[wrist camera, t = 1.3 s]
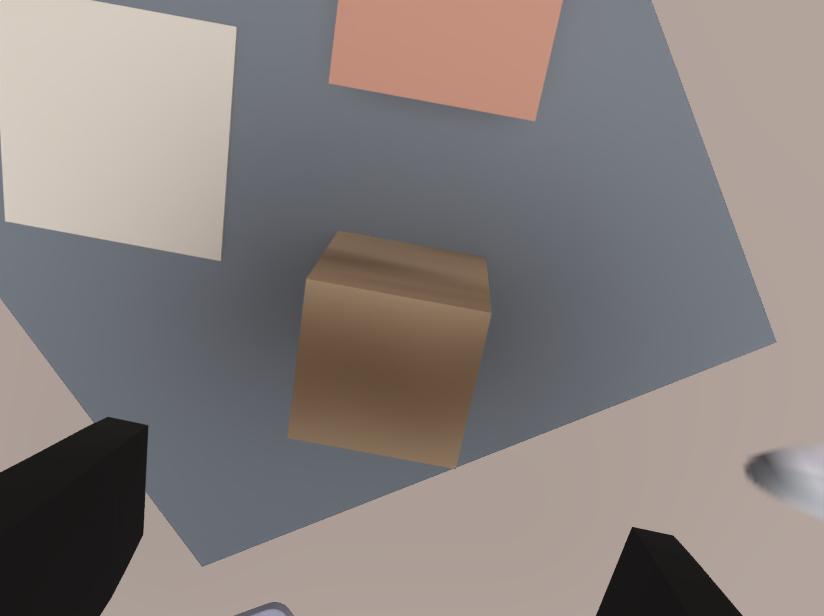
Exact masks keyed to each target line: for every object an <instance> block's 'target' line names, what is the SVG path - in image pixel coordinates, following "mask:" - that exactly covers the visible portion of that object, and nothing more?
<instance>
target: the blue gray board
mask: <svg viewBox="0 0 824 616" xmlns="http://www.w3.org/2000/svg"><path fill="white" fill-rule="evenodd" d="M337 7H338V0H0V298H1V300H2V301H3V302H4V304H5V305H6V306H7V308H8V309H9V310H10V311H11V313H12V314H13V316H14V317H15V318H16V320H17V321H18V322H19V324H20V325H21V326H22V327H23V329H24V330H25V332H26V333H27V334H28V336H29V337H30V338H31V339H32V341H33V342H34V344H35V345H36V346H37V347H38V349H39V350H40V351H41V353H42V354H43V355H44V357H45V358H46V359H47V361H48V362H49V363H50V365H51V366H52V367H53V369H54V370H55V372H56V373H57V374H58V375H59V377H60V378H61V379H62V381H63V382H64V383H65V385H66V386H67V387H68V389H69V390H70V391H71V393H72V394H73V395H74V397H75V398H76V399H77V401H78V402H79V403H80V405H81V406H82V407H83V409H84V410H85V411H86V413H87V414H88V415H89V417H90V418H91V419H92V421H93V422H94V423H96V422H98V421H100V420H102V419H104V418H106V417H112V418H117V419H122V420H126V421H131V422H136V423H141V424H145V425H149V427H148V447H147V468H146V488H145V491H146V493H147V494H148V495H149V496H150V498H151V499H152V501H153V502H154V503H155V505H156V506H157V507H158V508H159V510H160V511H161V513H163V515H164V517H165V518H166V519H167V521H168V522H169V523H170V524H171V526H172V527H173V529H174V530H175V531H176V532H177V534H178V535H179V536H180V538H181V539H182V540H183V542H184V543H185V545H186V546H187V547H188V548H189V550H190V551H191V552H192V554H193V555H194V556H195V558H196V559H197V560H198V562H199V563H200V564H201V566H202V567H203V566H205V565H208V564H210V563H213V562H216V561H218V560H220V559H223V558H226V557H228V556H231V555H233V554H236V553H239V552H241V551H244V550H246V549H249V548H251V547H254V546H256V545H259V544H261V543H264V542H267V541H269V540H272V539H274V538H277V537H279V536H282V535H285V534H287V533H290V532H292V531H295V530H297V529H300V528H302V527H305V526H308V525H310V524H313V523H315V522H318V521H320V520H323V519H325V518H328V517H331V516H333V515H336V514H338V513H341V512H343V511H346V510H348V509H351V508H354V507H356V506H359V505H361V504H364V503H366V502H369V501H371V500H374V499H377V498H379V497H382V496H384V495H387V494H389V493H392V492H394V491H397V490H400V489H402V488H405V487H407V486H410V485H413V484H415V483H418V482H420V481H423V480H425V479H428V478H430V477H433V476H435V475H438V474H441V473H443V472H446V471H448V470H451V469H452V468H446V467H441V466H436V465H430V464H425V463H420V462H414V461H409V460H403V459H398V458H393V457H387V456H382V455H377V454H371V453H366V452H360V451H355V450H350V449H344V448H339V447H334V446H328V445H323V444H317V443H312V442H307V441H301V440H296V439H291V438H287V436H288V428H289V420H290V411H291V403H292V394H293V386H294V377H295V369H296V361H297V352H298V344H299V335H300V327H301V319H302V310H303V302H304V293H305V285H306V278H307V277H308V275H309V274H310V272H311V271H312V269H313V268H314V266H315V265H316V263H317V262H318V260H319V259H320V257H321V256H322V254H323V253H324V251H325V250H326V248H327V247H328V245H329V244H330V242H331V241H332V239H333V238H334V236H335V235H336V233H337V232H338V230H340V231H345V232H351V233H356V234H361V235H367V236H372V237H378V238H383V239H389V240H394V241H399V242H405V243H410V244H416V245H421V246H426V247H432V248H437V249H443V250H448V251H454V252H459V253H464V254H470V255H475V256H481V257H486V261H487V271H488V281H489V291H490V301H491V310H492V314H491V319H490V323H489V327H488V332H487V336H486V340H485V345H484V349H483V353H482V357H481V362H480V366H479V370H478V375H477V379H476V383H475V388H474V392H473V396H472V401H471V405H470V409H469V414H468V418H467V422H466V427H465V431H464V435H463V440H462V444H461V448H460V453H459V457H458V461H457V466H456V467H459V466H461V465H464V464H466V463H469V462H471V461H474V460H476V459H479V458H481V457H484V456H486V455H489V454H492V453H494V452H497V451H499V450H502V449H505V448H507V447H510V446H512V445H515V444H517V443H520V442H523V441H525V440H527V439H530V438H533V437H535V436H538V435H540V434H543V433H546V432H548V431H550V430H553V429H556V428H558V427H561V426H563V425H566V424H568V423H571V422H574V421H576V420H579V419H581V418H584V417H586V416H589V415H591V414H594V413H596V412H599V411H602V410H604V409H607V408H609V407H612V406H615V405H617V404H620V403H622V402H625V401H627V400H630V399H632V398H635V397H637V396H640V395H643V394H645V393H648V392H650V391H653V390H656V389H658V388H661V387H663V386H666V385H668V384H671V383H673V382H676V381H678V380H681V379H683V378H686V377H689V376H691V375H694V374H696V373H699V372H701V371H704V370H707V369H709V368H712V367H714V366H717V365H719V364H722V363H724V362H727V361H730V360H732V359H735V358H737V357H740V356H742V355H745V354H747V353H750V352H753V351H755V350H758V349H760V348H763V347H765V346H768V345H771V344H773V343H775V342H776V339H775V337H774V334H773V331H772V329H771V326H770V323H769V320H768V318H767V315H766V312H765V309H764V307H763V304H762V301H761V298H760V296H759V293H758V291H757V288H756V285H755V282H754V279H753V277H752V274H751V271H750V268H749V266H748V263H747V261H746V258H745V255H744V252H743V249H742V247H741V244H740V241H739V239H738V236H737V233H736V230H735V227H734V225H733V222H732V219H731V217H730V214H729V212H728V208H727V206H726V203H725V200H724V198H723V195H722V192H721V190H720V187H719V184H718V181H717V178H716V176H715V173H714V170H713V167H712V165H711V162H710V159H709V157H708V154H707V151H706V148H705V146H704V143H703V140H702V137H701V135H700V132H699V129H698V126H697V124H696V121H695V119H694V116H693V113H692V110H691V107H690V105H689V102H688V99H687V97H686V94H685V91H684V88H683V86H682V83H681V80H680V77H679V75H678V72H677V69H676V67H675V64H674V61H673V58H672V55H671V53H670V50H669V47H668V45H667V42H666V39H665V36H664V34H663V31H662V28H661V25H660V23H659V20H658V17H657V15H656V12H655V9H654V7H653V4H652V1H651V0H563V3H562V7H561V11H560V16H559V20H558V24H557V29H556V33H555V37H554V42H553V46H552V50H551V55H550V59H549V63H548V68H547V72H546V76H545V81H544V85H543V89H542V94H541V98H540V102H539V107H538V111H537V115H536V120H535V121H531V120H525V119H520V118H514V117H509V116H503V115H498V114H492V113H487V112H482V111H476V110H471V109H465V108H460V107H454V106H449V105H443V104H438V103H433V102H427V101H422V100H416V99H411V98H405V97H400V96H394V95H389V94H384V93H378V92H373V91H367V90H362V89H356V88H351V87H346V86H340V85H335V84H329V75H330V66H331V58H332V49H333V41H334V33H335V24H336V16H337Z"/></svg>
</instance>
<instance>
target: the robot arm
mask: <svg viewBox="0 0 824 616" xmlns="http://www.w3.org/2000/svg"><path fill="white" fill-rule="evenodd" d="M148 427H149V425H145V424H141V423H136V422H131V421H126V420H122V419H117V418H112V417H106V418H104V419H102V420H100V421H98V422H96V423H94V424H92V425H90V426H88V427H86V428H84V429H82V430H80V431H78V432H76V433H74V434H73V435H71V436H69V437H67V438H65V439H63V440H61V441H59V442H58V443H56V444H54V445H52V446H50V447H48V448H46V449H44V450H43V451H41V452H39V453H37V454H35V455H33V456H31V457H29V458H27V459H26V460H24V461H22V462H20V463H18V464H16V465H14V466H12V467H10V468H8V469H6V470H4V471H3V472H0V616H100V615H101V613H102V611H103V610H104V608H105V607H106V605H107V604H108V602H109V600H110V599H111V597H112V595H113V593H114V591H115V590H116V587H117V585H118V584H119V582H120V580H121V578H122V576H123V574H124V572H125V570H126V568H127V566H128V564H129V562H130V560H131V558H132V556H133V554H134V552H135V550H136V548H137V546H138V544H139V542H140V540H141V538H142V536H143V528H144V508H145V488H146V468H147V447H148ZM235 616H294V615H293V614H292V613H291V611H290V610H289V609H288V608H287V607H286V606H285V605H283V604H281V603H277V602H272V603H268V604H265V605H263V606H260V607H257V608H254V609H251V610H249V611H246V612H243V613H241V614H238V615H235ZM596 616H742V614H741V613H740V612H739V611H738V610H737V609H736V607H735V606H734V605H733V604H732V603H731V601H730V600H729V599H728V598H727V597H726V596H725V594H724V593H723V592H722V591H721V590H720V588H719V587H718V586H717V585H716V584H715V583H714V581H713V580H712V579H711V578H710V577H709V575H708V574H707V573H706V572H705V571H704V570H703V568H702V567H701V566H700V565H699V564H698V563H697V561H695V559H694V558H693V557H692V556H691V555H690V553H689V552H688V551H687V550H686V549H685V548H684V547H683V546H682V544H681V543H679V541H678V540H677V539H676V538H675V537H674V536H672V535H668V534H663V533H658V532H654V531H649V530H644V529H639V528H635V527H632V529H631V531H630V534H629V536H628V538H627V541H626V543H625V546H624V548H623V551H622V553H621V556H620V558H619V561H618V563H617V565H616V568H615V570H614V573H613V575H612V578H611V580H610V583H609V585H608V588H607V590H606V592H605V595H604V597H603V600H602V603H601V605H600V607H599V610H598V612H597V615H596Z"/></svg>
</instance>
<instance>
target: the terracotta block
mask: <svg viewBox="0 0 824 616" xmlns="http://www.w3.org/2000/svg"><path fill="white" fill-rule="evenodd" d="M562 3H563V0H338V7H337V16H336V24H335V33H334V41H333V49H332V58H331V66H330V75H329V84H335V85H340V86H346V87H351V88H356V89H362V90H367V91H373V92H378V93H384V94H389V95H394V96H400V97H405V98H411V99H416V100H422V101H427V102H433V103H438V104H443V105H449V106H454V107H460V108H465V109H471V110H476V111H482V112H487V113H492V114H498V115H503V116H509V117H514V118H520V119H525V120H531V121H535V120H536V115H537V111H538V107H539V102H540V98H541V94H542V89H543V85H544V81H545V76H546V72H547V68H548V63H549V59H550V55H551V50H552V46H553V42H554V37H555V33H556V29H557V24H558V20H559V16H560V11H561V7H562Z"/></svg>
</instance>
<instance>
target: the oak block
mask: <svg viewBox="0 0 824 616" xmlns="http://www.w3.org/2000/svg"><path fill="white" fill-rule="evenodd" d="M491 314H492V310H491V301H490V291H489V281H488V271H487V261H486V257H481V256H475V255H470V254H464V253H459V252H454V251H448V250H443V249H437V248H432V247H426V246H421V245H416V244H410V243H405V242H399V241H394V240H389V239H383V238H378V237H372V236H367V235H361V234H356V233H351V232H345V231H340V230H338V232H337V233H336V235H335V236H334V238H333V239H332V241H331V242H330V244H329V245H328V247H327V248H326V250H325V251H324V253H323V254H322V256H321V257H320V259H319V260H318V262H317V263H316V265H315V266H314V268H313V269H312V271H311V272H310V274H309V275H308V277H307V278H306V285H305V293H304V302H303V310H302V319H301V327H300V335H299V344H298V352H297V361H296V369H295V377H294V386H293V394H292V403H291V411H290V420H289V428H288V436H287V438H291V439H296V440H301V441H307V442H312V443H317V444H323V445H328V446H334V447H339V448H344V449H350V450H355V451H360V452H366V453H371V454H377V455H382V456H387V457H393V458H398V459H403V460H409V461H414V462H420V463H425V464H430V465H436V466H441V467H446V468H452V469H456V466H457V461H458V457H459V453H460V448H461V444H462V440H463V435H464V431H465V427H466V422H467V418H468V414H469V409H470V405H471V401H472V396H473V392H474V388H475V383H476V379H477V375H478V370H479V366H480V362H481V357H482V353H483V349H484V345H485V340H486V336H487V332H488V327H489V323H490V319H491Z"/></svg>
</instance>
